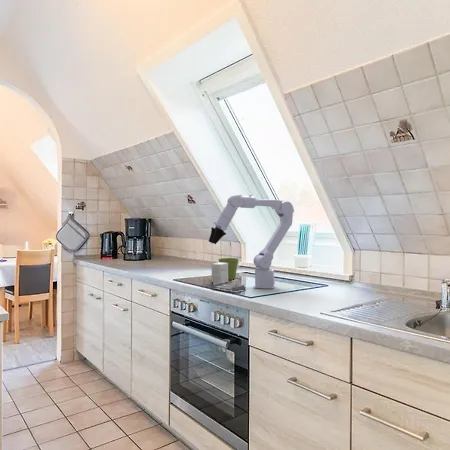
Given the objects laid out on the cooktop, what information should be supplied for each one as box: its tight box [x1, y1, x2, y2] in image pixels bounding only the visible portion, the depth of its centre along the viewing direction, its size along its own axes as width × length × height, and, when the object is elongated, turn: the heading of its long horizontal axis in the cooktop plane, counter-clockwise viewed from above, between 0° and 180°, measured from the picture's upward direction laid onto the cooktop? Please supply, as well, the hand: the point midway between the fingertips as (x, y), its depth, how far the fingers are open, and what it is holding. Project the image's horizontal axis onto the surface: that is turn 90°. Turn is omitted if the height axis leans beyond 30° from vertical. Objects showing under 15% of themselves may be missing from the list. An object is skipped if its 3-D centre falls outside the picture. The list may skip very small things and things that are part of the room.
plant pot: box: [217, 257, 240, 281], centre depth 230 cm, size 12×12×11 cm
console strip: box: [211, 282, 247, 291], centre depth 197 cm, size 14×8×3 cm, turn 52°
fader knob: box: [231, 278, 240, 288], centre depth 195 cm, size 2×3×4 cm, turn 142°
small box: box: [211, 261, 229, 283], centre depth 216 cm, size 8×6×10 cm
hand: (211, 242), depth 197 cm, fingers open, 7 cm apart
